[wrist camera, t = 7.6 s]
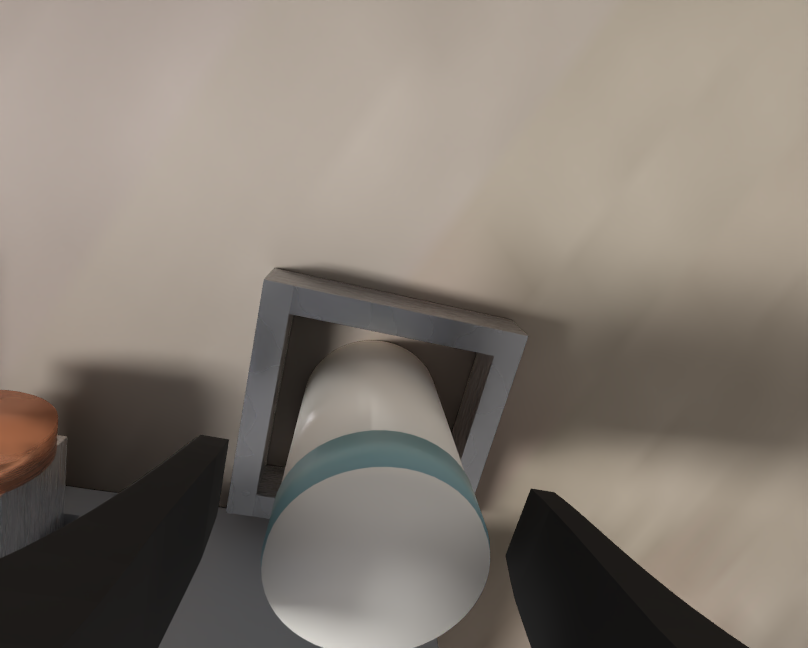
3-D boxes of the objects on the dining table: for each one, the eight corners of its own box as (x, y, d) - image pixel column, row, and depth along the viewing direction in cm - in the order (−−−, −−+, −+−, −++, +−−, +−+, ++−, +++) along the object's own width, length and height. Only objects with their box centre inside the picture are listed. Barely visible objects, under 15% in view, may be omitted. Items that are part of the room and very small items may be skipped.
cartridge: (418, 469, 17) (457, 666, 10) (291, 448, 16) (242, 645, 9) (453, 354, 15) (522, 491, 9) (316, 325, 15) (279, 452, 8)
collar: (448, 511, 17) (457, 544, 16) (238, 480, 16) (225, 512, 15) (511, 319, 15) (528, 336, 14) (274, 267, 14) (263, 279, 12)
